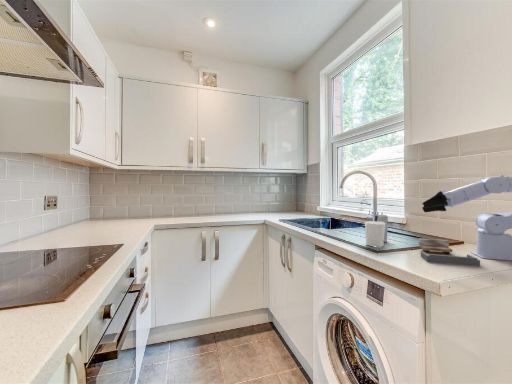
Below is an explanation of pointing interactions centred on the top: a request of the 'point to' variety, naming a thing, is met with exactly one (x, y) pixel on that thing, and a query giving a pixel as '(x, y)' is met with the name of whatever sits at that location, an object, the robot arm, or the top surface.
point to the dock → (450, 259)
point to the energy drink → (384, 219)
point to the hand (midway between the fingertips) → (423, 207)
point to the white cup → (375, 233)
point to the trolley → (435, 245)
